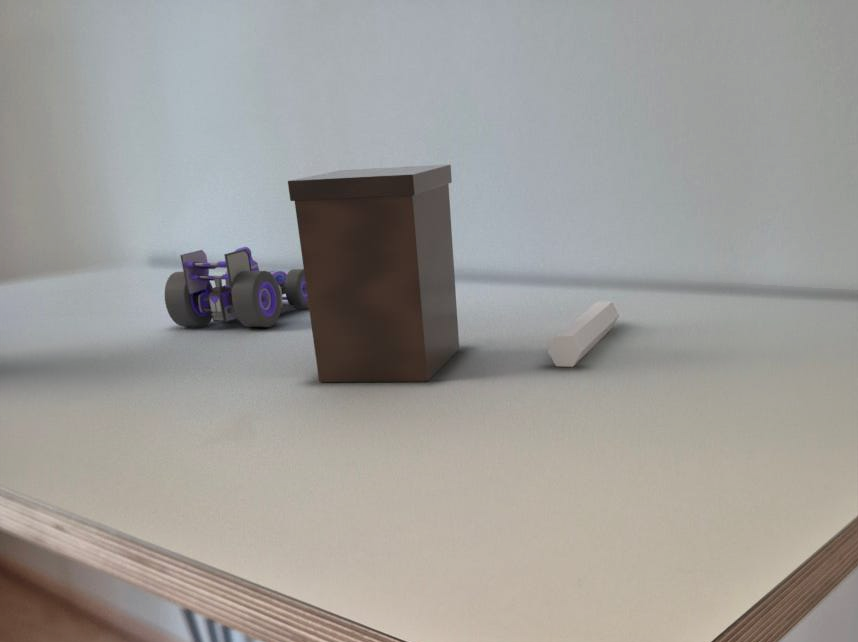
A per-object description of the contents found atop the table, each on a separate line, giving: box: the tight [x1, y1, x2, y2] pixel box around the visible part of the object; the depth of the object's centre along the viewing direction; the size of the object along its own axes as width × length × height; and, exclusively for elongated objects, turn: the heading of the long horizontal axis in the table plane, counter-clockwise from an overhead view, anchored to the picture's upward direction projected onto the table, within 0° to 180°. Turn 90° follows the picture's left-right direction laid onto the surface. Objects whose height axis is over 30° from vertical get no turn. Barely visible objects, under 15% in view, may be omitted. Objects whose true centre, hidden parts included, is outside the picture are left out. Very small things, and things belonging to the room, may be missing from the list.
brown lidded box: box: [287, 164, 460, 383], centre depth 69 cm, size 9×10×13 cm
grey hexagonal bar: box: [547, 301, 620, 368], centre depth 74 cm, size 3×2×16 cm
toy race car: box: [164, 246, 309, 328], centre depth 92 cm, size 10×15×6 cm, turn 161°
